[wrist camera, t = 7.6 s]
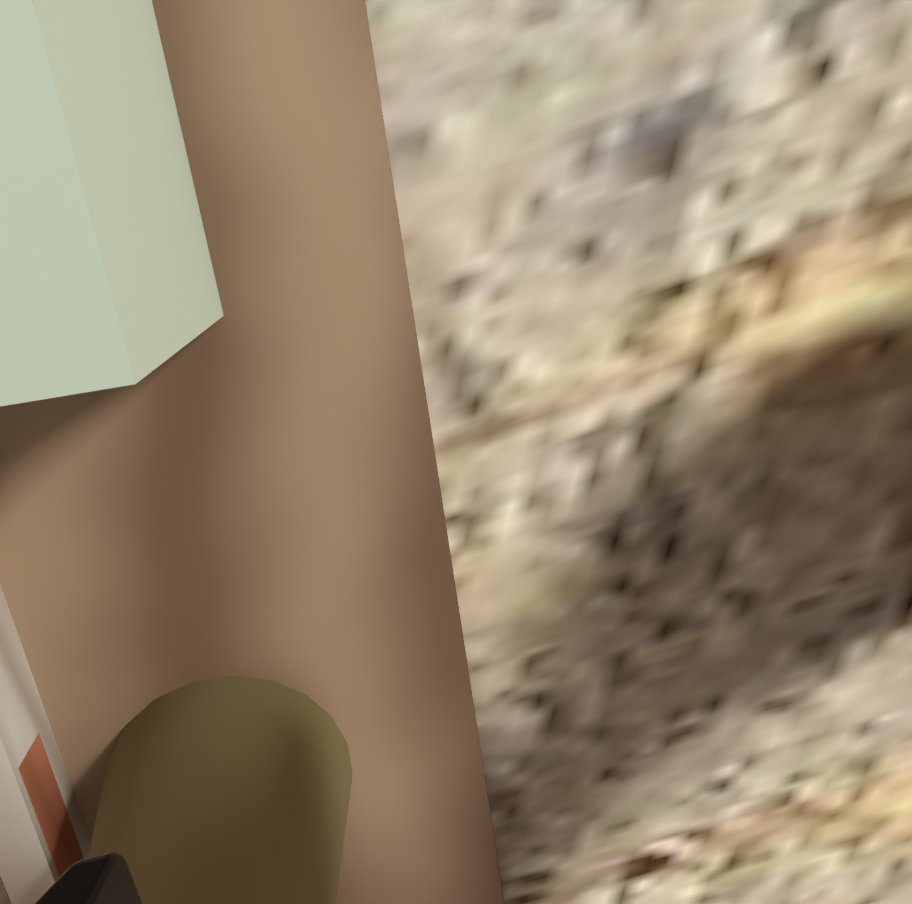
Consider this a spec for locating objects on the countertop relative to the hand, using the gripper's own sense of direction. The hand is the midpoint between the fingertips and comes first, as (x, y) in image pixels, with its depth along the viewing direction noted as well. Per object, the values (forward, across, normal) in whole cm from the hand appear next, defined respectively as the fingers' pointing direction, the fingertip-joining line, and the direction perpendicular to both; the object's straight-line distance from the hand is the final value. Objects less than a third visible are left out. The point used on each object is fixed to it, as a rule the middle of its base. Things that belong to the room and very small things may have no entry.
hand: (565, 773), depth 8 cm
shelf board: (+11, +6, +1) cm, 13 cm away
